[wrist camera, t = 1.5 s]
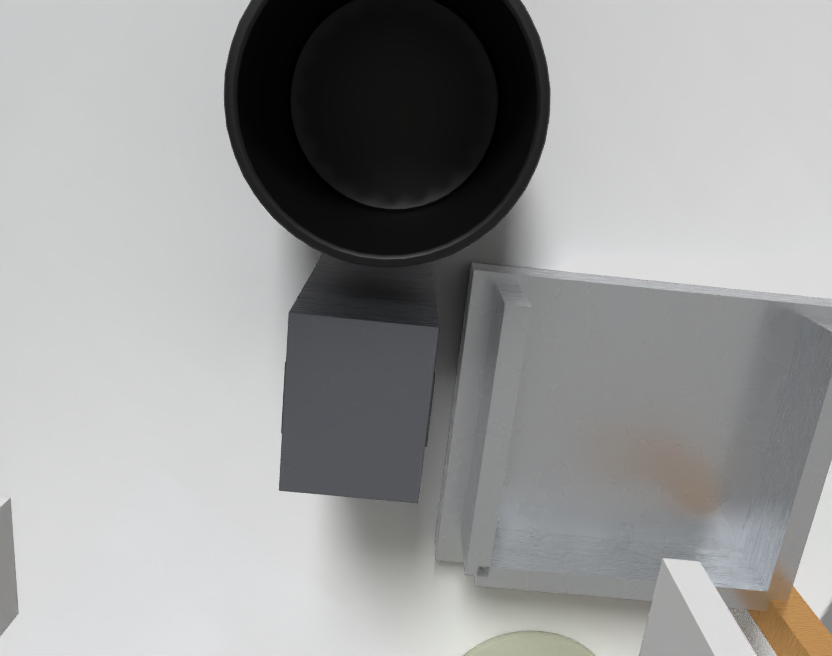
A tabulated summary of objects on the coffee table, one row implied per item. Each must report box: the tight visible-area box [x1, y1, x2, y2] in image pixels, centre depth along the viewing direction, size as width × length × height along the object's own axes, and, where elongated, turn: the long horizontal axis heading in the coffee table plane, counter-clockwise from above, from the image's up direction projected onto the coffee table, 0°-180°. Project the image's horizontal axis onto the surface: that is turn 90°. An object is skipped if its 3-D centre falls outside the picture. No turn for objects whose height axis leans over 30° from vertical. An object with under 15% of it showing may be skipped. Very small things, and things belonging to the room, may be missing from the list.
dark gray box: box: [279, 253, 439, 503], centre depth 27 cm, size 5×6×10 cm
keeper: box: [435, 262, 832, 656], centre depth 27 cm, size 16×14×14 cm
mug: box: [224, 0, 550, 267], centre depth 25 cm, size 9×12×9 cm
